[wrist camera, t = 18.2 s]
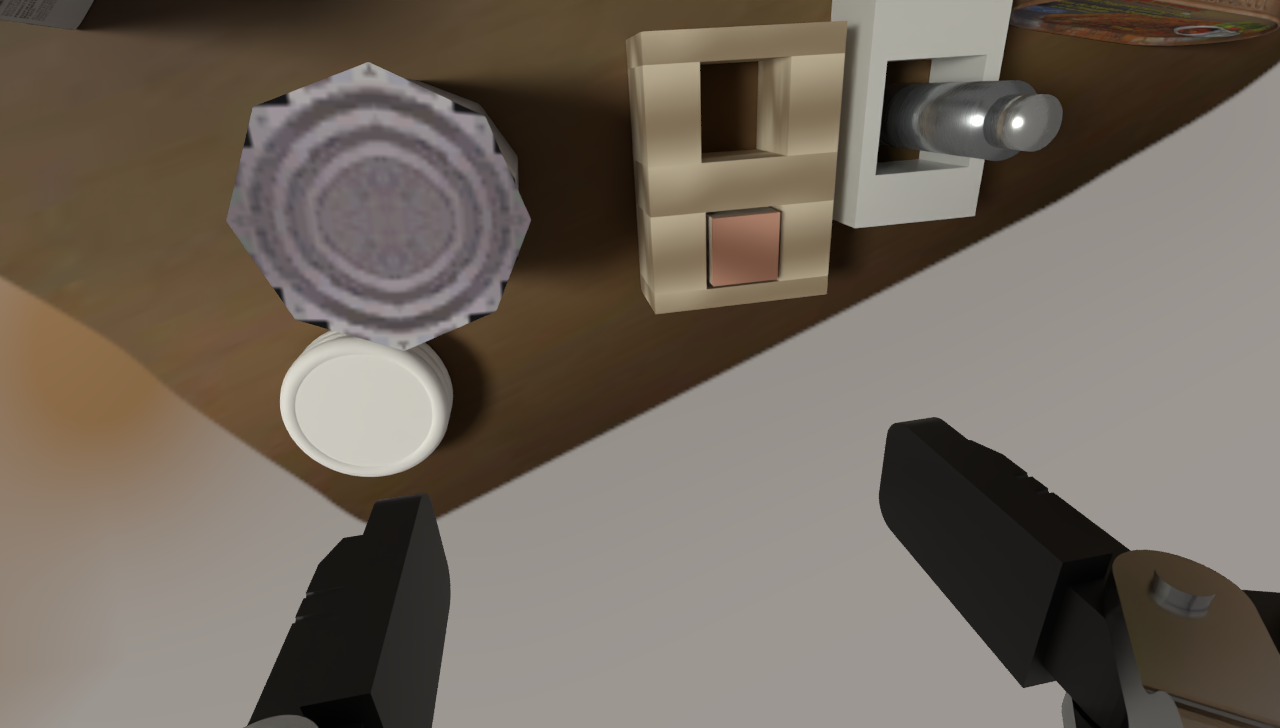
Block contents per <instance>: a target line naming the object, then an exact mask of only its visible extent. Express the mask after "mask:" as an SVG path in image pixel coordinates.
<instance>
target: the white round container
mask: <svg viewBox="0 0 1280 728" xmlns="http://www.w3.org/2000/svg"><path fill="white" fill-rule="evenodd" d="M452 404H453V388H452V383H451V379H450V376H449V374H448V372H447V369H446V367H445V365H444V364H443V362H442V360H441V359H440V357H439V356H438V355H437V354H436V352H435V351H434V350H433V349H432V348H431V347H430V346H429V345H428V344H426V343H425V342H424V343H422V344H419V345H417V346H415V347H412V348H410V349H408V350H406V351H403V350H399V349H396V348H392V347H389V346H385V345H382V344H378V343H375V342H372V341H368V340H365V339H361V338H358V337H354V336H351V335H347V334H344V333H340V332H337V331H333V330H331V331H328V332H327V333H325V334H323V335H321V336H320V337H318V338H317V339H316V340H314V341H313V342H312V343H311V344H310V345H309V346H308V347H307V348H306V349H305V350H304V352H303V353H302V354H301V355H300V356H299V357H298V359H297V360H296V361H295V362H294V363H293V364H292V366H291V367H290V369H289V370H288V372H287V374H286V376H285V378H284V380H283V384H282V387H281V395H280V410H281V414H282V419H283V421H284V424H285V426H286V429H287V430H288V432H289V434H290V436H291V437H292V439H293V440H294V441H295V443H296V444H297V445H298V446H299V447H300V448H301V449H302V450H303V451H304V452H305V453H306V454H307V455H309V456H310V457H311V458H312V459H314V460H315V461H317V462H319V463H320V464H322V465H324V466H326V467H328V468H330V469H332V470H335V471H338V472H341V473H345V474H349V475H354V476H362V477H377V476H386V475H392V474H395V473H399V472H402V471H404V470H407V469H410V468H411V467H413V466H415V465H417V464H419V463H420V462H422V461H423V460H424V459H426V458H427V457H428V456H429V455H430V454H431V453H432V452H433V451H434V450H435V449H436V447H437V446H438V445H439V444H440V442H441V440H442V439H443V437H444V435H445V432H446V430H447V426H448V422H449V417H450V413H451V409H452Z"/></svg>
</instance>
